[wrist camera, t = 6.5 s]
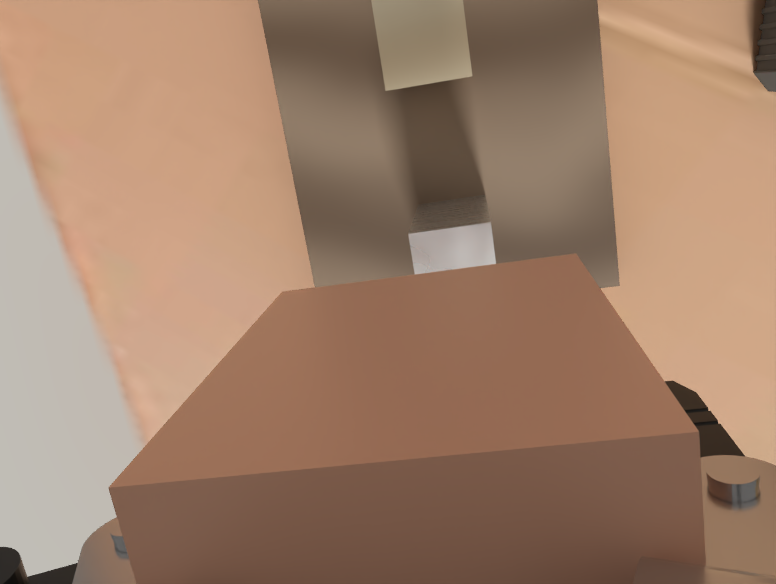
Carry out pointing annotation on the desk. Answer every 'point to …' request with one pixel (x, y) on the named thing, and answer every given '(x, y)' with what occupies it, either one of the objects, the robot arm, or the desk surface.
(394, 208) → the board
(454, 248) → the post
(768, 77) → the walkie-talkie
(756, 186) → the desk surface
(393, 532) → the peach cube
